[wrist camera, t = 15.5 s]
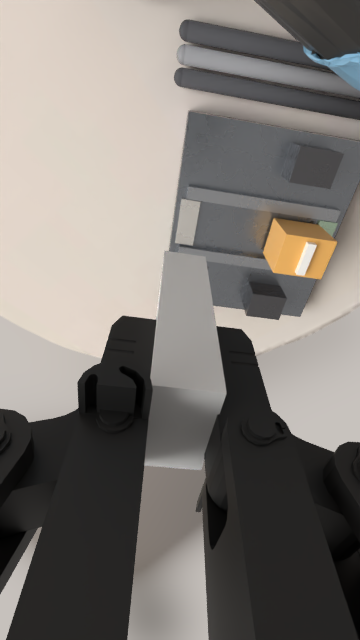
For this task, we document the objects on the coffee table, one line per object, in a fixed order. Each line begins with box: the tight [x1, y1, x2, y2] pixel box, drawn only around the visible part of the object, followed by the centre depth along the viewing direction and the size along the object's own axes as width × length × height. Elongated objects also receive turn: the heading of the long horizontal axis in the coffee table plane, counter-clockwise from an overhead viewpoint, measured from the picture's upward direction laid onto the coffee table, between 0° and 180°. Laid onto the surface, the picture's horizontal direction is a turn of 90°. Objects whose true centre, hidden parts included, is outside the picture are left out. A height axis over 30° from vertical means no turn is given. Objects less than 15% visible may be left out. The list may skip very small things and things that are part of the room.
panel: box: [169, 110, 360, 320], centre depth 35 cm, size 20×18×6 cm
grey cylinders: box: [174, 20, 360, 120], centre depth 29 cm, size 5×21×1 cm, turn 81°
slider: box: [263, 218, 337, 279], centre depth 33 cm, size 4×5×6 cm
